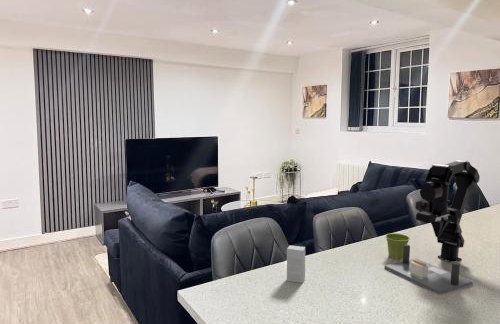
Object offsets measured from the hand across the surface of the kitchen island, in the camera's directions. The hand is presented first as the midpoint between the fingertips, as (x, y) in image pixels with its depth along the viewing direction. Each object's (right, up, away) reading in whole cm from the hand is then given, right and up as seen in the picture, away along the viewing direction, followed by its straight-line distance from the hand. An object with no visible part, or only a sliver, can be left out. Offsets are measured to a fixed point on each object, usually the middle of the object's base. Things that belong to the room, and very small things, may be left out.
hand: (437, 236), depth 148 cm
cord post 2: (-2, -13, -17) cm, 21 cm away
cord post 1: (-11, -11, +2) cm, 16 cm away
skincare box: (-56, -14, -11) cm, 59 cm away
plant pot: (-11, -11, +12) cm, 20 cm away
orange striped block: (-11, -12, -10) cm, 19 cm away
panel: (-8, -13, -8) cm, 17 cm away
